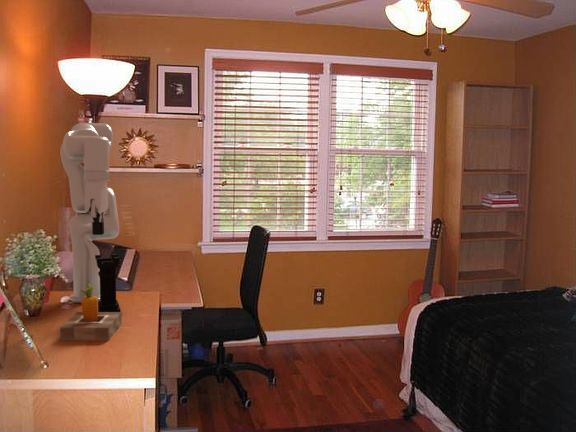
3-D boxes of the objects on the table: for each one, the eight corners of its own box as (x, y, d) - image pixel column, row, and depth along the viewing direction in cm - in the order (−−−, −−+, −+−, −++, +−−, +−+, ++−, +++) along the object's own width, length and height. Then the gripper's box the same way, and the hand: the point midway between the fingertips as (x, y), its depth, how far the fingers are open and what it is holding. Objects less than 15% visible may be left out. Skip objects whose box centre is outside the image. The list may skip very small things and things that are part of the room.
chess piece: (121, 316, 204) (120, 257, 202) (97, 318, 201) (95, 259, 199) (119, 310, 212) (118, 253, 209) (95, 312, 209) (93, 254, 206)
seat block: (77, 324, 195) (77, 311, 195) (121, 324, 196) (121, 311, 195) (60, 340, 179) (60, 326, 179) (108, 340, 180) (108, 326, 179)
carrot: (94, 335, 184) (91, 287, 182) (80, 334, 186) (76, 286, 183) (103, 329, 189) (100, 283, 187) (89, 328, 190) (85, 282, 188)
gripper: (91, 174, 198) (93, 230, 200) (77, 177, 183) (79, 238, 185) (115, 175, 198) (116, 231, 200) (102, 178, 183) (103, 238, 185)
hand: (98, 234), depth 193 cm, fingers closed
